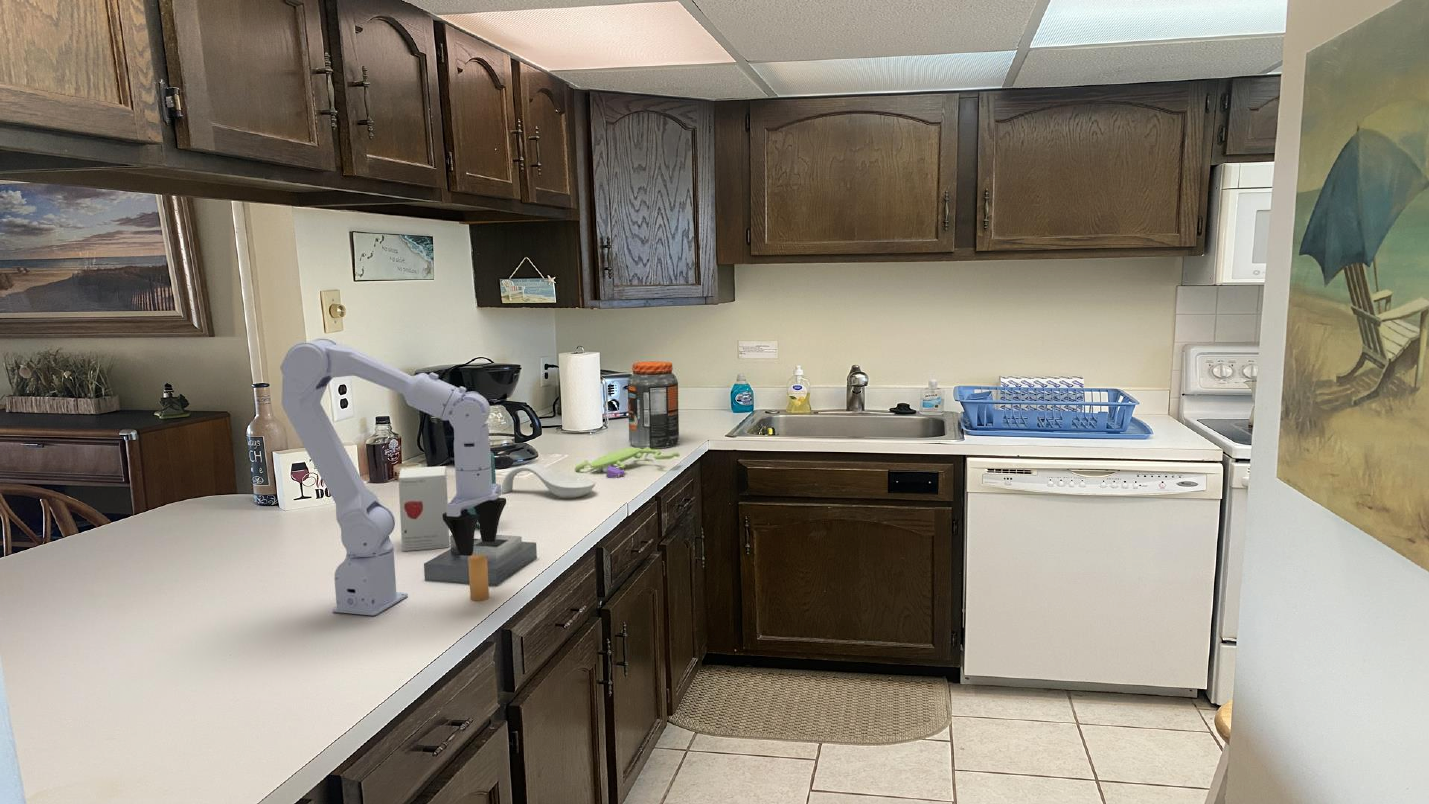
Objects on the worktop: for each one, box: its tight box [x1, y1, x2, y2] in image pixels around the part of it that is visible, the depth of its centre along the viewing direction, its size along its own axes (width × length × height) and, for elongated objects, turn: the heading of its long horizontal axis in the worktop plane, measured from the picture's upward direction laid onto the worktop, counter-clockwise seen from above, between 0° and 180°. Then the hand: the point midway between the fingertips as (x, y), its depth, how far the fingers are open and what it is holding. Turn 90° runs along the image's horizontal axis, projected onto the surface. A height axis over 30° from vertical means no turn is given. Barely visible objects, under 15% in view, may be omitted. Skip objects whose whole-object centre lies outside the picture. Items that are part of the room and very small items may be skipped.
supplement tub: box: [627, 361, 680, 450], centre depth 285 cm, size 16×16×26 cm
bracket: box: [460, 534, 523, 563], centre depth 166 cm, size 10×7×2 cm
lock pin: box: [468, 554, 490, 602], centre depth 151 cm, size 3×3×7 cm
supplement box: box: [398, 465, 450, 552], centre depth 182 cm, size 9×9×15 cm
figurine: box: [574, 447, 680, 478], centre depth 251 cm, size 18×27×6 cm
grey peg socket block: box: [423, 534, 538, 587], centre depth 167 cm, size 16×14×6 cm
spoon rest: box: [501, 464, 596, 499], centre depth 223 cm, size 24×12×7 cm, turn 76°
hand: (477, 548), depth 151 cm, fingers open, 7 cm apart
